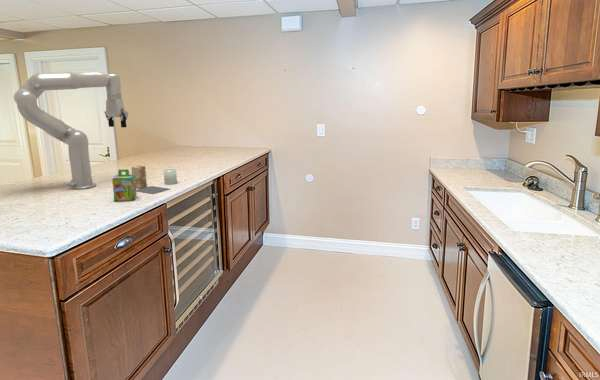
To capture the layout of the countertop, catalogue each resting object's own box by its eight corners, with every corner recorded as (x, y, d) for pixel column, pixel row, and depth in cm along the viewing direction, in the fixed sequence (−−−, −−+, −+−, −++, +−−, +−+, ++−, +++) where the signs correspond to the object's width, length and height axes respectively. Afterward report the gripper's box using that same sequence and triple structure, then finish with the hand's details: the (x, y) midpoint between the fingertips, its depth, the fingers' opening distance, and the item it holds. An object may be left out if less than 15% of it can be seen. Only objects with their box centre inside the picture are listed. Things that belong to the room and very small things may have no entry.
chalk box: (114, 202, 181) (110, 172, 177) (117, 197, 189) (114, 168, 186) (134, 200, 183) (131, 171, 180) (137, 196, 192) (134, 167, 188)
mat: (153, 194, 196) (153, 193, 196) (134, 191, 202) (134, 190, 202) (170, 189, 206) (170, 188, 206) (151, 186, 212) (151, 185, 212)
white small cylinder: (170, 185, 216) (169, 171, 214) (162, 183, 219) (160, 170, 217) (179, 182, 222) (178, 169, 220) (170, 181, 225) (169, 168, 223)
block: (139, 189, 206) (137, 167, 203) (133, 188, 208) (131, 166, 205) (147, 187, 210) (145, 166, 207) (140, 186, 212) (138, 165, 210)
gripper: (97, 96, 212) (101, 126, 216) (120, 96, 205) (123, 128, 209) (108, 96, 218) (112, 126, 223) (131, 96, 212) (134, 127, 216)
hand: (117, 127), depth 216 cm, fingers open, 9 cm apart
